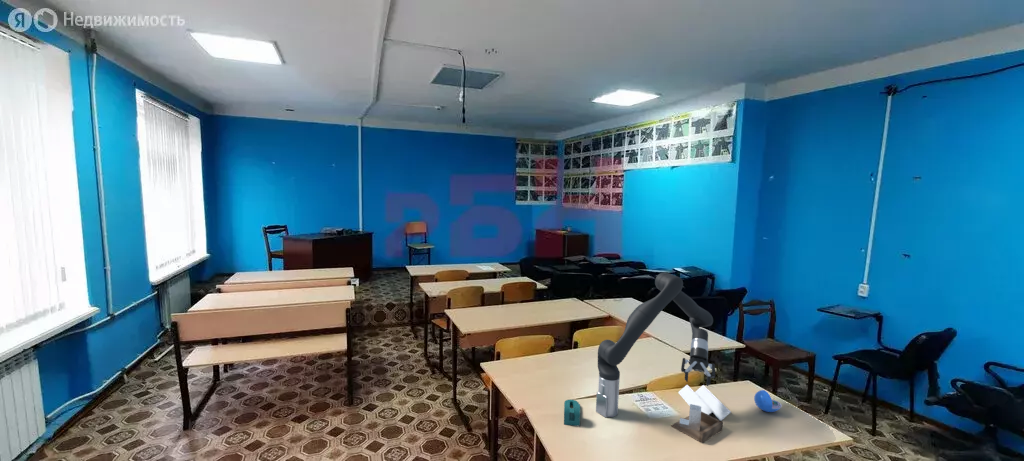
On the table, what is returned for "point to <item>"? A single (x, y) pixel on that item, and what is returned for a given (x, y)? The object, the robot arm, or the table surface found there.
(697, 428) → the aluminium bracket
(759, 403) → the blue rounded hollow shell
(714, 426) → the walnut corner tray
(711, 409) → the z bracket
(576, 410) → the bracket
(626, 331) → the robot arm
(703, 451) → the table surface
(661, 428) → the table surface
